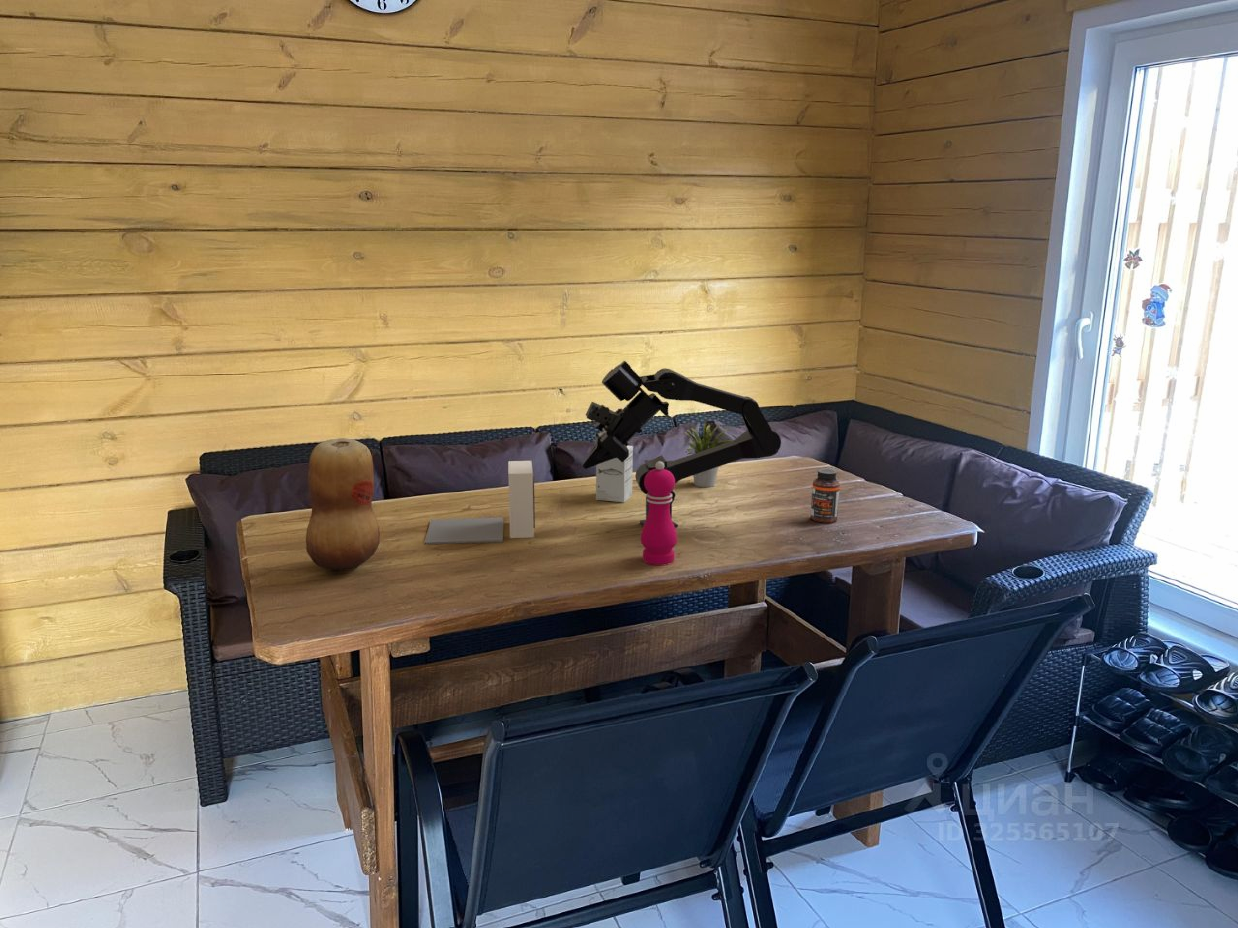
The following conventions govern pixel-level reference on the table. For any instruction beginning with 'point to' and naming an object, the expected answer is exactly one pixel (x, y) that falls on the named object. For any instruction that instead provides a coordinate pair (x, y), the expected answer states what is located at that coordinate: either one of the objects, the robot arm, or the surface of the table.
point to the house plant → (710, 475)
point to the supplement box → (615, 479)
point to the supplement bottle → (825, 497)
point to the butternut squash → (341, 505)
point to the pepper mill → (659, 518)
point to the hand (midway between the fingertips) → (583, 467)
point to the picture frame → (521, 499)
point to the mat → (465, 530)
